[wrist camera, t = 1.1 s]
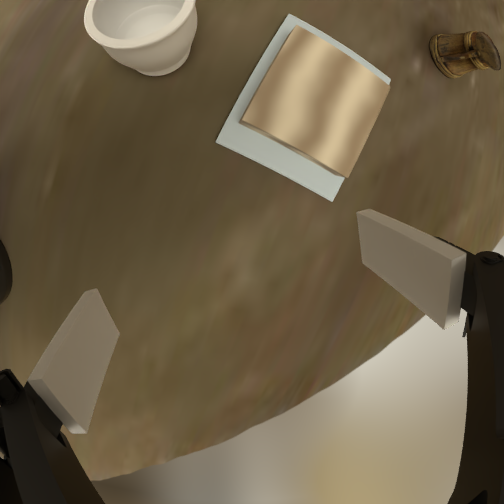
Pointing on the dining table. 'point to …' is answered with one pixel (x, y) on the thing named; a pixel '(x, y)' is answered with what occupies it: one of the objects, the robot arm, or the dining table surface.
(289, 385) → the dining table surface
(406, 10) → the dining table surface
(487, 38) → the wooden mug
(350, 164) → the tan flat block
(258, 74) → the board
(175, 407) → the dining table surface
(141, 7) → the jar
